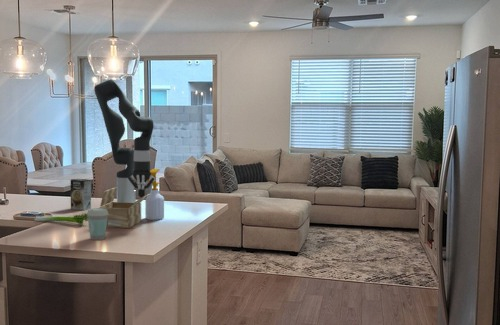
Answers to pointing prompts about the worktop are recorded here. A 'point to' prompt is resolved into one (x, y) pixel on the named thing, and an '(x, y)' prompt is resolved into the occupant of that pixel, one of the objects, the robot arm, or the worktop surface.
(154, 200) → the soap bottle
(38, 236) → the worktop surface
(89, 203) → the coffee box
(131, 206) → the flap
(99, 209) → the coffee cup
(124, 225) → the wooden box
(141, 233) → the worktop surface
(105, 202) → the flap
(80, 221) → the celery stalk
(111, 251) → the worktop surface
